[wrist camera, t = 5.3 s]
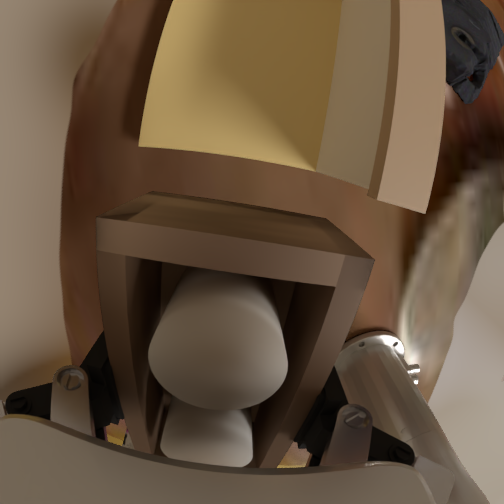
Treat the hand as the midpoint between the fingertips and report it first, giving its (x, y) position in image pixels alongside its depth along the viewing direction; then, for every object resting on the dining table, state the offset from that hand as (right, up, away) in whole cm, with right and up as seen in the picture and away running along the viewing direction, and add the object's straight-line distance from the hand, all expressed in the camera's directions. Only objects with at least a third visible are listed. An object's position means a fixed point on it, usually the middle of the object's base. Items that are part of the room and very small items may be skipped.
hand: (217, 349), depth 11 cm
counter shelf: (+3, +23, +8) cm, 24 cm away
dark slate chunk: (+28, +33, +6) cm, 44 cm away
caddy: (0, 0, +1) cm, 1 cm away
